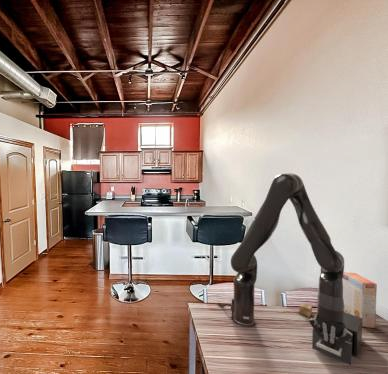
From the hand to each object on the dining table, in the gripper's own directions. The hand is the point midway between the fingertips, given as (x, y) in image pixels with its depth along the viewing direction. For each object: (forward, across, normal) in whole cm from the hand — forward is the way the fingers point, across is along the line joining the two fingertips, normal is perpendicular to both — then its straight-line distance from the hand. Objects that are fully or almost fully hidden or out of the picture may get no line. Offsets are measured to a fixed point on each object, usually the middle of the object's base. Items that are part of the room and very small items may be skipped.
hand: (329, 350), depth 86 cm
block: (+4, -15, +32) cm, 36 cm away
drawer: (+3, 0, +7) cm, 8 cm away
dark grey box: (+4, 0, +19) cm, 19 cm away
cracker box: (+5, +3, +46) cm, 46 cm away
